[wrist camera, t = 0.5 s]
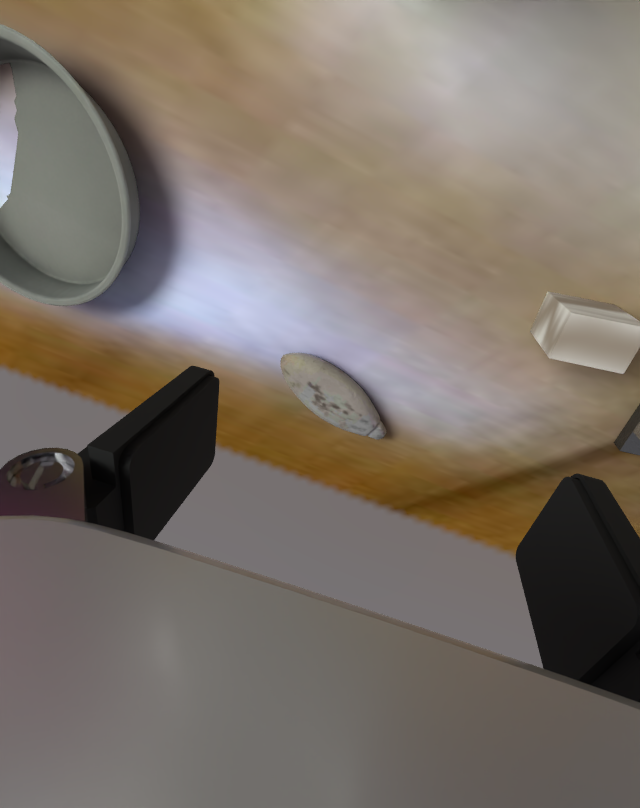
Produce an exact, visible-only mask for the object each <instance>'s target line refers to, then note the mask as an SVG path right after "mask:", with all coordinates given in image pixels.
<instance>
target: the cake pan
mask: <svg viewBox="0 0 640 808" xmlns="http://www.w3.org/2000/svg"><path fill="white" fill-rule="evenodd" d="M5 63H10V66H11V68H12V73H13V79H14V85H15V91H16V98H15V101H14V102H15V105H16V109H17V112H16V115H15V123H16V126H17V130H18V140H17V150H16V157H15V164H14V171H13V179H12V186H11V193H10V194H9V196H7V197H8V200H7V201H6V202H5V203H4V205H3V206H2V207H1V208H0V283H2V284H3V285H5V286H6V287H8V288H9V289H11V290H13V291H15V292H17V293H18V294H20V295H22V296H25V297H27V298H29V299H32V300H35V301H38V302H41V303H45V304H50V305H55V306H72V305H78V304H82V303H85V302H88V301H90V300H93V299H95V298H96V297H98V296H99V295H101V294H102V293H103V292H105V291H106V290H107V289H108V288H109V287H110V286H111V284H112V283H113V282H114V281H115V279H116V278H117V276H118V275H119V273H120V271H121V269H122V267H123V266H124V264H125V263H126V262H127V260H128V259H129V257H130V255H131V253H132V251H133V248H134V246H135V243H136V239H137V234H138V228H139V216H140V208H139V197H138V190H137V184H136V180H135V176H134V172H133V169H132V165H131V162H130V160H129V157H128V155H127V152H126V150H125V148H124V146H123V143H122V141H121V139H120V137H119V135H118V134H117V132H116V130H115V128H114V127H113V125H112V124H111V122H110V121H109V119H108V118H107V116H106V115H105V113H104V112H103V110H102V109H101V108H100V107H99V106H98V104H97V103H96V102H95V101H94V100H93V99H92V97H91V96H90V95H89V94H88V93H87V92H86V91H85V90H84V89H83V88H81V87H80V85H79V84H78V83H77V82H76V80H75V79H74V78H73V77H72V76H71V75H70V74H69V72H68V71H67V70H66V69H65V68H64V67H63V66H62V65H61V64H60V63H59V62H58V61H57V60H56V59H55V58H54V57H53V56H52V55H51V54H49V53H48V52H47V51H46V50H45V49H44V48H42V47H41V46H40V45H38V44H37V43H35V42H34V41H33V40H31V39H29V38H28V37H26V36H24V35H23V34H21V33H19V32H17V31H15V30H13V29H12V28H9V27H7V26H4V25H1V24H0V65H1V64H5Z"/></svg>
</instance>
